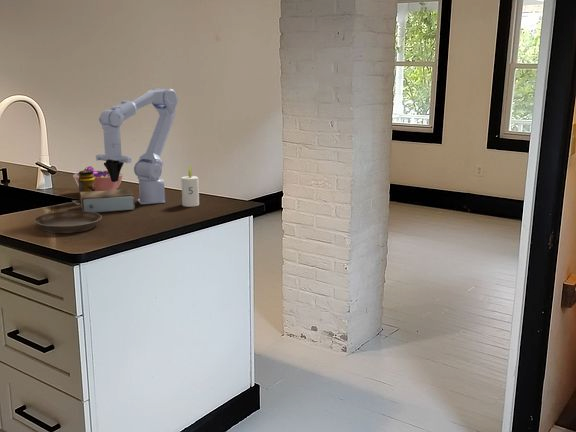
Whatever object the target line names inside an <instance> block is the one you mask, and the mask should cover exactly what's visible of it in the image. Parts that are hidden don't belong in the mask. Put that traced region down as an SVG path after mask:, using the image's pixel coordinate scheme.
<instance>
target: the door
mask: <svg viewBox="0 0 576 432" xmlns="http://www.w3.org/2000/svg"><path fill="white" fill-rule="evenodd" d="M133 201H134V202H135V196H134V197H133V196H130V197H115V198H100V199H85V200H83V202H84V211H87V212H97V213H104V212H103V211H110V212H118V211H117V210H123V211H131V210H130V209H134V208H135V209H136V205H135V204H134V205H133Z"/></svg>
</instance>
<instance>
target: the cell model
mask: <svg viewBox="0 0 576 432" xmlns="http://www.w3.org/2000/svg"><path fill="white" fill-rule="evenodd" d="M85 170H91V171H93V175H94V176H93V177H94V178H95V188H96V191H106V190H118V188H119V187H120V185H121V182H122V179H123V177H124V175H123V174H122V173H121V172H120V174H119V178H118V181H116V182H112V181H111V178H110V175H109V172H108V170H94V167H92V166H91V165H90V166H87V167H85V168H84V169H83V171H85ZM72 176H73V178H74V180H75V183H76V184H77V186H78V187H79V182H78V179H79V172H76V173H74V174H73V175H72Z"/></svg>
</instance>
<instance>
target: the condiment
mask: <svg viewBox="0 0 576 432" xmlns="http://www.w3.org/2000/svg"><path fill="white" fill-rule="evenodd" d="M78 173H79V179H78V182H79V186H78V192H79V193H78V194H79V199H78V200H76V199H75V200H72V202H73V203H74V204H75V205H78V206H79V205H81V204H80V203H81V195H80V192H90V191H96V188H95V178H94V177H93V176H94V175H93V171H91V170H85V171H84V170H79V172H78Z"/></svg>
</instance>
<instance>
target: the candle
mask: <svg viewBox="0 0 576 432" xmlns="http://www.w3.org/2000/svg"><path fill="white" fill-rule="evenodd" d="M180 180H181V195H182V196H181V201H182V202H181V203H182V206H183V207H189V208H191V207H197V206H200V190H199V187H200V186H199V182H200V181H199V177H198V176H196V175H193V171H192V167H191V165H190V164H189V165H188V175H187V176H182V177H181V179H180Z"/></svg>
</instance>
